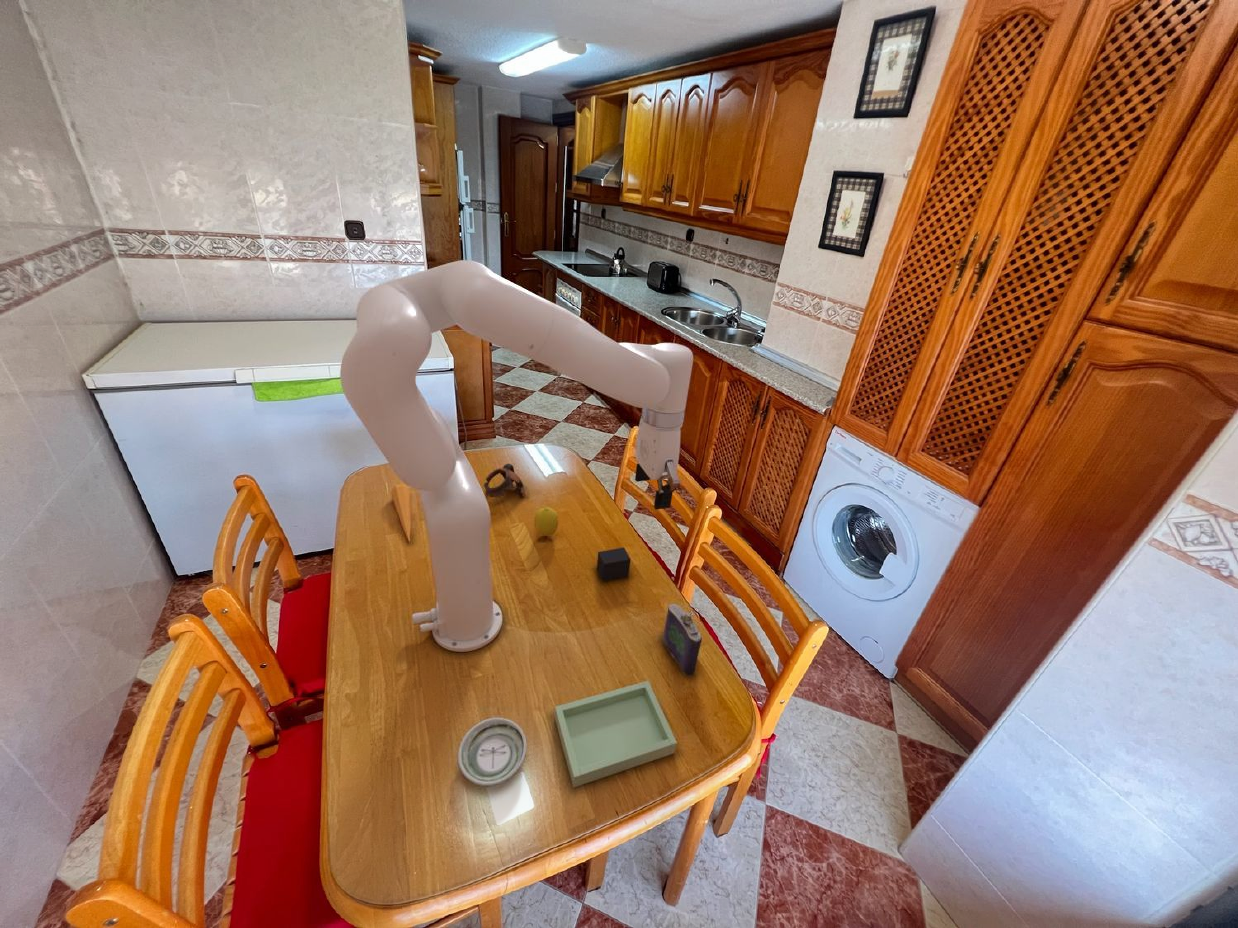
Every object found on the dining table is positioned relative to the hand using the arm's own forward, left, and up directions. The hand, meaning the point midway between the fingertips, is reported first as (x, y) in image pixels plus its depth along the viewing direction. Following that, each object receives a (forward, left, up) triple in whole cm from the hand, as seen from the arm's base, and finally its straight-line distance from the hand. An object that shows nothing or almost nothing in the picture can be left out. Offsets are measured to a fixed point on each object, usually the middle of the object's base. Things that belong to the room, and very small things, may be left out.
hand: (651, 493), depth 97 cm
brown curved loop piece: (-23, +38, -22) cm, 50 cm away
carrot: (-48, +33, -22) cm, 62 cm away
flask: (-1, -21, -22) cm, 30 cm away
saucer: (-36, -30, -22) cm, 51 cm away
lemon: (-17, +18, -22) cm, 33 cm away
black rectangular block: (-6, +2, -22) cm, 23 cm away
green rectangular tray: (-18, -32, -22) cm, 42 cm away
